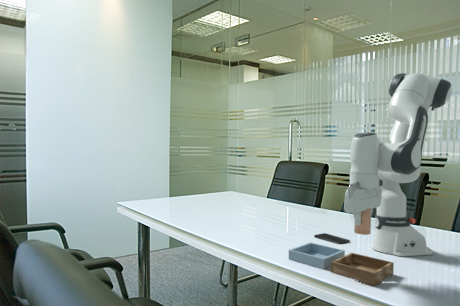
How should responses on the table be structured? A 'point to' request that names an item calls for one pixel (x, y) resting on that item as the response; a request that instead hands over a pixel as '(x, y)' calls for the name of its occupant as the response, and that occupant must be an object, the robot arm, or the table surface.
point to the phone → (332, 238)
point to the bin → (315, 255)
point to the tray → (362, 268)
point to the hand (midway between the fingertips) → (362, 223)
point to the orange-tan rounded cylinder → (364, 223)
